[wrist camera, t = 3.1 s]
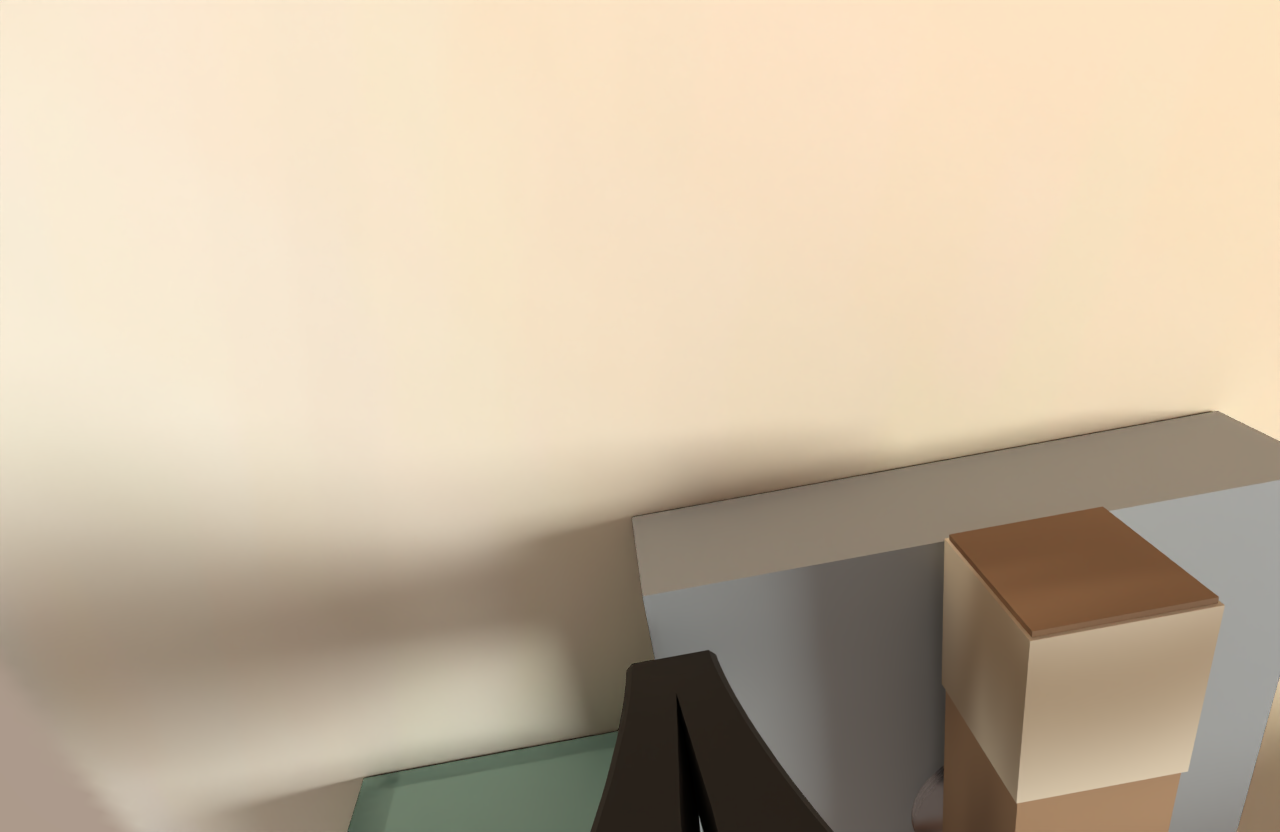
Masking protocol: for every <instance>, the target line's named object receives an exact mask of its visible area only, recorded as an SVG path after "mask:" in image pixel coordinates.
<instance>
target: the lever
mask: <svg viewBox="0 0 1280 832" xmlns="http://www.w3.org/2000/svg"><path fill="white" fill-rule="evenodd" d="M1224 608H1225V605H1224V604H1223V603H1222V602H1220V601H1219V597H1218V596H1217V595H1216V594H1215V593H1213V592H1212V591H1211V590H1210V589H1208V588H1207V587H1206V586H1204V585H1203V584H1202V583H1201V582H1199V581H1198V580H1197V579H1195V578H1194V577H1193V576H1192V575H1190V574H1189V573H1188V572H1186V571H1185V570H1184V569H1183V568H1181V567H1180V566H1179V565H1177V564H1176V563H1175V562H1174V561H1172V560H1171V559H1170V558H1168V557H1167V556H1166V555H1165V554H1163V553H1162V552H1161V551H1159V550H1158V549H1157V548H1156V547H1154V546H1153V545H1152V544H1150V543H1149V542H1148V541H1147V540H1145V539H1144V538H1143V537H1141V536H1140V535H1139V534H1138V533H1136V532H1135V531H1134V530H1132V529H1131V528H1130V527H1129V526H1127V525H1126V524H1125V523H1123V522H1122V521H1121V520H1120V519H1118V518H1117V517H1116V516H1114V515H1113V514H1112V513H1111V512H1109V511H1108V510H1107V509H1105V508H1104V507H1103V506H1102V507H1097V508H1091V509H1086V510H1080V511H1075V512H1070V513H1064V514H1059V515H1053V516H1048V517H1042V518H1037V519H1031V520H1026V521H1020V522H1015V523H1009V524H1004V525H998V526H993V527H987V528H982V529H977V530H971V531H966V532H960V533H955V534H949V538H945V540H944V590H943V640H942V685H943V687H944V688H945V690H946V701H945V744H944V788H943V831H942V832H1168V831H1169V826H1170V822H1171V817H1172V812H1173V808H1174V803H1175V799H1176V794H1177V789H1178V785H1179V780H1180V776H1181V773H1182V772H1188V769H1189V765H1190V760H1191V756H1192V751H1193V747H1194V742H1195V738H1196V733H1197V729H1198V724H1199V720H1200V715H1201V711H1202V706H1203V702H1204V697H1205V693H1206V688H1207V684H1208V679H1209V675H1210V670H1211V666H1212V661H1213V657H1214V652H1215V648H1216V643H1217V639H1218V634H1219V630H1220V625H1221V621H1222V617H1223V612H1224Z"/></svg>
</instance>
